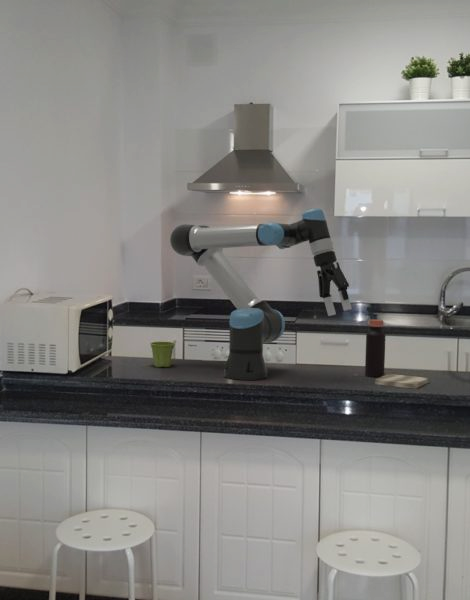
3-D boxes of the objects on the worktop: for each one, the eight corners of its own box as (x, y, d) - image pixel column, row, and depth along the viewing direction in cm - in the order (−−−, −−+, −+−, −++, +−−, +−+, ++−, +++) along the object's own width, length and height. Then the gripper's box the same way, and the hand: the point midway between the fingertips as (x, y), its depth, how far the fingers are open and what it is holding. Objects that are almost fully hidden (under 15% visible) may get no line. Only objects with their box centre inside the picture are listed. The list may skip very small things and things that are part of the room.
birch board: (374, 384, 237) (374, 379, 237) (388, 378, 249) (388, 373, 249) (416, 388, 230) (416, 384, 230) (428, 382, 242) (428, 378, 242)
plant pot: (179, 365, 267) (180, 343, 266) (164, 369, 259) (164, 345, 258) (160, 363, 272) (160, 340, 271) (144, 366, 264) (144, 343, 263)
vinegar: (363, 376, 251) (365, 320, 250) (366, 373, 258) (368, 318, 256) (382, 378, 249) (384, 321, 248) (385, 375, 255) (387, 319, 254)
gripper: (347, 242, 233) (365, 304, 231) (320, 258, 257) (335, 315, 255) (327, 247, 231) (344, 309, 229) (301, 262, 255) (316, 319, 253)
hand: (339, 312), depth 242 cm, fingers open, 13 cm apart
